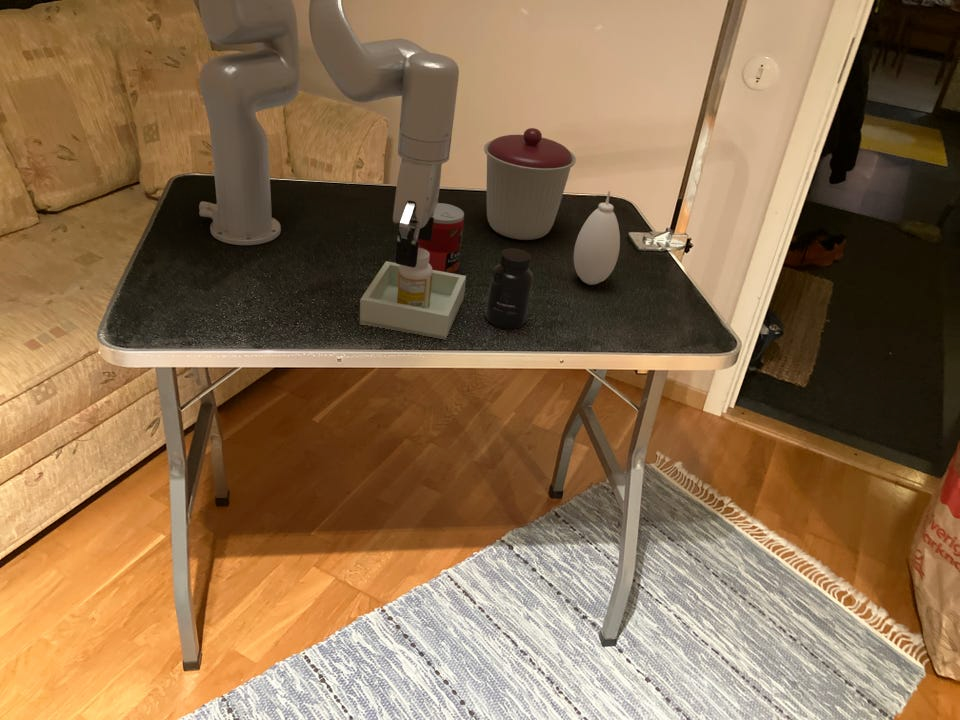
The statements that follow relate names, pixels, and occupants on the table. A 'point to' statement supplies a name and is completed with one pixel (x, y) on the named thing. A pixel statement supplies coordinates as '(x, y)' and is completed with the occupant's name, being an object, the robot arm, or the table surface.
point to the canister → (525, 183)
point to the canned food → (445, 238)
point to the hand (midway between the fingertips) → (413, 251)
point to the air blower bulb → (597, 245)
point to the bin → (389, 314)
